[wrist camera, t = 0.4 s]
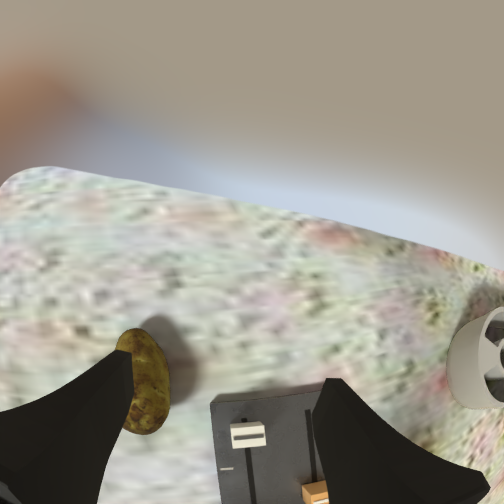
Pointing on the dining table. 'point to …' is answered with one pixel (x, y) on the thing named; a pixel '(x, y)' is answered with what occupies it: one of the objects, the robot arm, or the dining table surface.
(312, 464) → the console
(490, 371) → the grey compartment organizer
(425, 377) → the dining table surface
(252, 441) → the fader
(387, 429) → the robot arm
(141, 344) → the potato
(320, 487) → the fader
